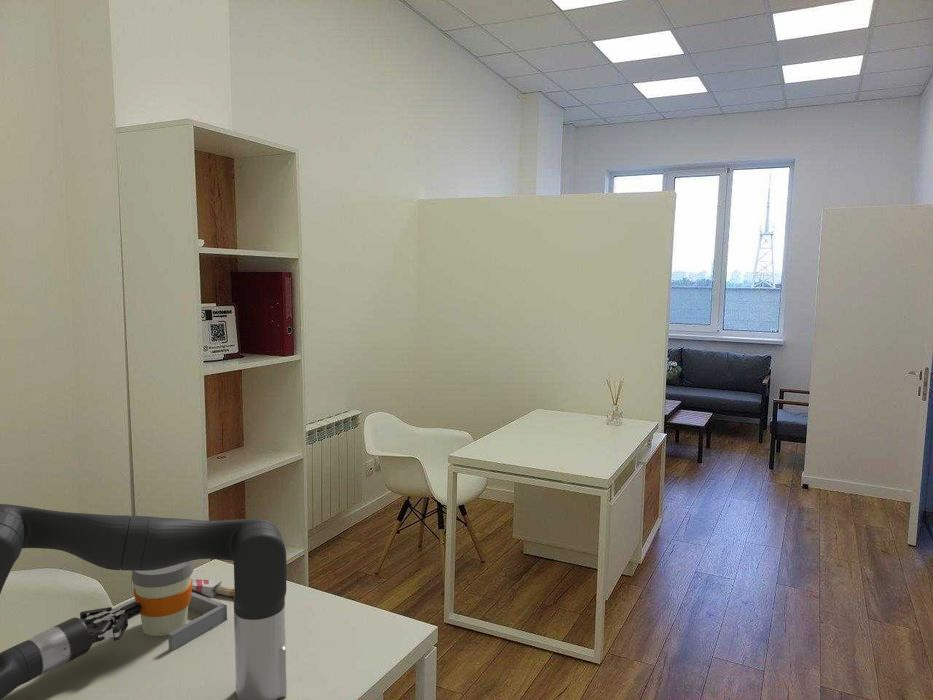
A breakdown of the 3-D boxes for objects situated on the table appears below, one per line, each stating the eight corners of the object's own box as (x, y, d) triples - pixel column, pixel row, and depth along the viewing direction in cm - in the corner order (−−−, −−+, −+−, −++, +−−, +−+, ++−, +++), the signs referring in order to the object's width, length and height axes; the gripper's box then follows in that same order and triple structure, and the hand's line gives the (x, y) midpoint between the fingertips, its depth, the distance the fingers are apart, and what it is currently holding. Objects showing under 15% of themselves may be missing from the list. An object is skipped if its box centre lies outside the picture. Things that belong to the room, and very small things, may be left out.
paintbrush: (189, 572, 169) (258, 588, 164) (189, 582, 170) (257, 599, 164) (178, 579, 166) (248, 596, 160) (178, 589, 166) (248, 606, 161)
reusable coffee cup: (189, 605, 159) (187, 545, 157) (200, 630, 149) (198, 566, 147) (131, 619, 153) (127, 557, 151) (138, 647, 142) (134, 580, 140)
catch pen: (172, 650, 141) (171, 635, 141) (113, 623, 151) (112, 608, 151) (227, 619, 154) (226, 605, 153) (168, 596, 163) (168, 582, 163)
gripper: (76, 638, 126) (157, 598, 141) (36, 618, 132) (118, 582, 147) (78, 675, 127) (159, 631, 142) (39, 653, 133) (120, 614, 148)
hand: (138, 606), depth 145 cm, fingers closed
